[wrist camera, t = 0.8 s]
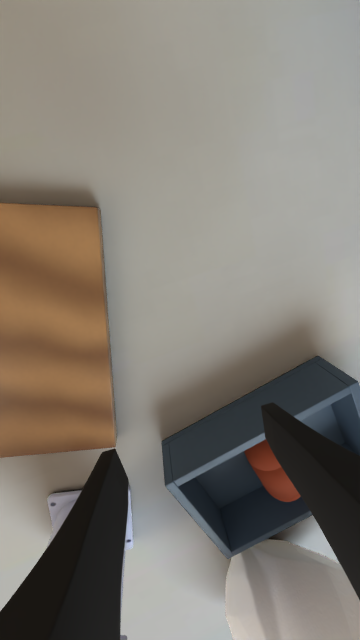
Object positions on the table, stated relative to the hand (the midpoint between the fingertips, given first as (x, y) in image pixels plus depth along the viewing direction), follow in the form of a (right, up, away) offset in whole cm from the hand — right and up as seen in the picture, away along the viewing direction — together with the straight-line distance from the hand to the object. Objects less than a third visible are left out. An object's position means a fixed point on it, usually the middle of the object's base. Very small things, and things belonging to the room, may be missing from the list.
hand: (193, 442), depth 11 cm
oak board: (-13, +4, +7) cm, 16 cm away
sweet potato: (+8, -7, +13) cm, 17 cm away
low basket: (+8, -7, +14) cm, 18 cm away
